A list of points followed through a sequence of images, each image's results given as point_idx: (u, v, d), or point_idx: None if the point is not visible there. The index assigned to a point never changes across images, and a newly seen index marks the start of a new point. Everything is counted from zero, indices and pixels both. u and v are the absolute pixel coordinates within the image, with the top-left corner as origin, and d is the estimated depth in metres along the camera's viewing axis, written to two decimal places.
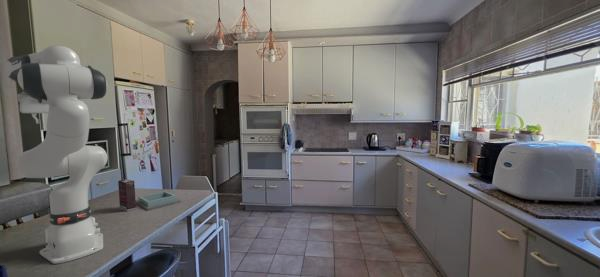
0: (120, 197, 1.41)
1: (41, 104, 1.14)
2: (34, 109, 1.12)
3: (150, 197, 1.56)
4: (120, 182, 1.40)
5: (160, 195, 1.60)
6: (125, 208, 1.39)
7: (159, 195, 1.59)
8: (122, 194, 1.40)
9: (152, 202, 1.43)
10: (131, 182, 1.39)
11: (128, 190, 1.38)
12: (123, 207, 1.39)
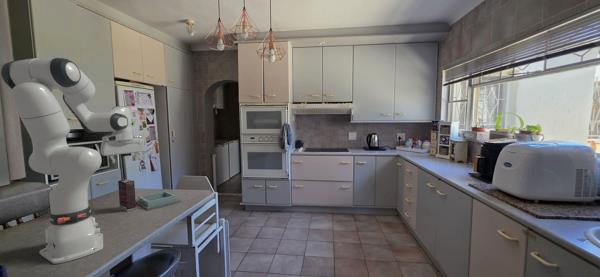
0: (120, 197, 1.41)
1: None
2: None
3: (150, 197, 1.56)
4: (120, 182, 1.40)
5: (160, 195, 1.60)
6: (125, 208, 1.39)
7: (159, 195, 1.59)
8: (122, 194, 1.40)
9: (152, 202, 1.43)
10: (131, 182, 1.39)
11: (128, 190, 1.38)
12: (123, 207, 1.39)
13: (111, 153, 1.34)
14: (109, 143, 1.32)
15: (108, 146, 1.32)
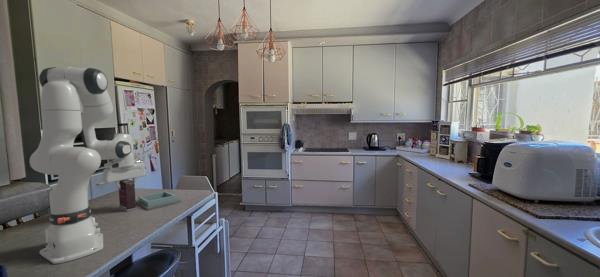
0: (120, 197, 1.41)
1: None
2: None
3: (150, 197, 1.56)
4: (120, 182, 1.40)
5: (160, 195, 1.60)
6: (125, 208, 1.39)
7: (159, 195, 1.59)
8: (122, 194, 1.40)
9: (152, 202, 1.43)
10: (131, 182, 1.39)
11: (128, 190, 1.38)
12: (123, 207, 1.39)
13: (114, 180, 1.34)
14: (112, 170, 1.33)
15: (111, 173, 1.33)
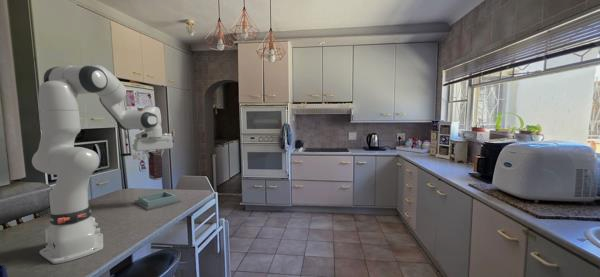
0: (149, 167, 1.51)
1: None
2: None
3: (150, 197, 1.56)
4: (149, 153, 1.50)
5: (160, 195, 1.60)
6: (153, 177, 1.48)
7: (159, 195, 1.59)
8: (150, 164, 1.49)
9: (152, 202, 1.43)
10: (158, 153, 1.48)
11: (155, 160, 1.47)
12: (152, 176, 1.49)
13: (143, 149, 1.44)
14: (141, 140, 1.43)
15: (140, 142, 1.43)
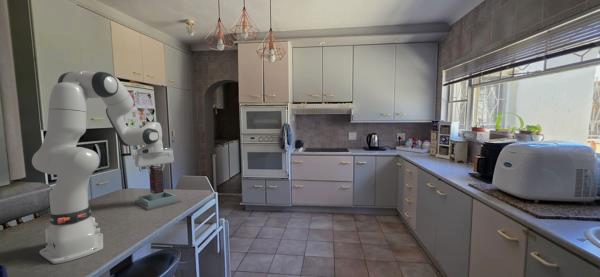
0: (150, 182, 1.51)
1: None
2: None
3: (150, 197, 1.56)
4: (150, 168, 1.51)
5: (160, 195, 1.60)
6: (154, 192, 1.49)
7: (159, 195, 1.59)
8: (151, 179, 1.50)
9: (152, 202, 1.43)
10: (159, 168, 1.49)
11: (156, 175, 1.48)
12: (153, 191, 1.50)
13: (144, 165, 1.45)
14: (142, 155, 1.44)
15: (142, 158, 1.44)
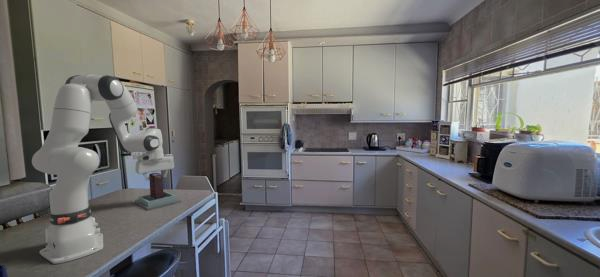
0: (150, 189, 1.52)
1: None
2: None
3: (150, 197, 1.56)
4: (150, 175, 1.51)
5: None
6: (154, 199, 1.49)
7: None
8: (151, 186, 1.50)
9: (152, 202, 1.43)
10: (159, 175, 1.49)
11: (156, 182, 1.48)
12: (153, 198, 1.50)
13: (144, 171, 1.45)
14: (143, 162, 1.44)
15: (142, 165, 1.44)
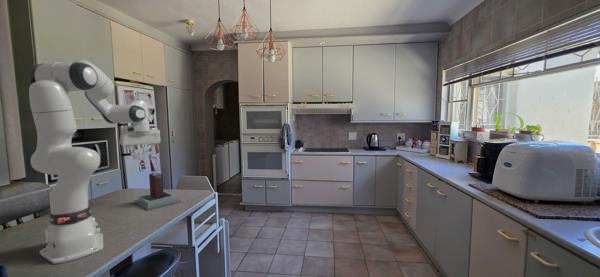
0: (150, 189, 1.52)
1: None
2: None
3: (150, 197, 1.56)
4: (150, 175, 1.51)
5: None
6: (154, 199, 1.49)
7: None
8: (151, 186, 1.50)
9: (152, 202, 1.43)
10: (159, 175, 1.49)
11: (156, 182, 1.48)
12: (153, 198, 1.50)
13: (129, 143, 1.42)
14: (128, 134, 1.40)
15: (127, 137, 1.41)
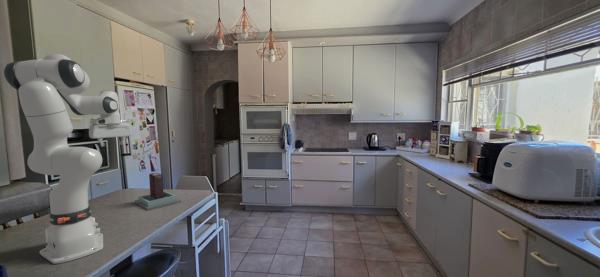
0: (150, 189, 1.52)
1: None
2: None
3: (150, 197, 1.56)
4: (150, 175, 1.51)
5: None
6: (154, 199, 1.49)
7: None
8: (151, 186, 1.50)
9: (152, 202, 1.43)
10: (159, 175, 1.49)
11: (156, 182, 1.48)
12: (153, 198, 1.50)
13: (100, 136, 1.36)
14: (98, 126, 1.35)
15: (97, 129, 1.35)
